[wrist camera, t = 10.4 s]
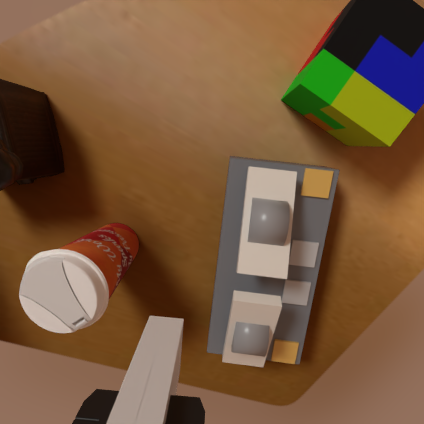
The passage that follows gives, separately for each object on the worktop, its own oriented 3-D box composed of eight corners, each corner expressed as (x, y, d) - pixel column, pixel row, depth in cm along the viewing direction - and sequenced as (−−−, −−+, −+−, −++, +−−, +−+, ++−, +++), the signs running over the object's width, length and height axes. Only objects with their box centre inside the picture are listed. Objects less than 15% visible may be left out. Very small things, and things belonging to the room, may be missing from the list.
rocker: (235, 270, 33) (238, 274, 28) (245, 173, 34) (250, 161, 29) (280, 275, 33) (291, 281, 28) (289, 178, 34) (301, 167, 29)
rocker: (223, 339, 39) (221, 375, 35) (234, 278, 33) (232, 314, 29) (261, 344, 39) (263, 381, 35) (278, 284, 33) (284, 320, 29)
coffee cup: (159, 250, 41) (121, 309, 26) (114, 281, 42) (55, 353, 28) (121, 201, 40) (58, 235, 25) (76, 235, 41) (-8, 286, 27)
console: (209, 328, 43) (206, 355, 38) (230, 155, 38) (230, 157, 32) (291, 339, 43) (300, 367, 37) (324, 166, 37) (341, 170, 32)
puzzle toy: (402, 72, 34) (470, 43, 25) (346, 146, 37) (389, 146, 27) (332, 21, 34) (375, -29, 24) (280, 100, 36) (300, 83, 26)
